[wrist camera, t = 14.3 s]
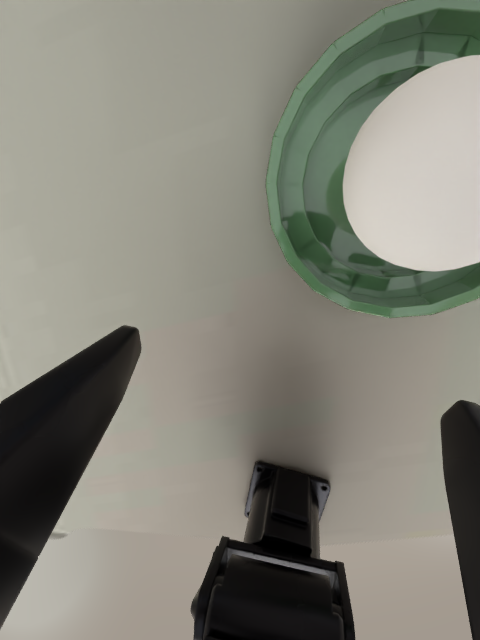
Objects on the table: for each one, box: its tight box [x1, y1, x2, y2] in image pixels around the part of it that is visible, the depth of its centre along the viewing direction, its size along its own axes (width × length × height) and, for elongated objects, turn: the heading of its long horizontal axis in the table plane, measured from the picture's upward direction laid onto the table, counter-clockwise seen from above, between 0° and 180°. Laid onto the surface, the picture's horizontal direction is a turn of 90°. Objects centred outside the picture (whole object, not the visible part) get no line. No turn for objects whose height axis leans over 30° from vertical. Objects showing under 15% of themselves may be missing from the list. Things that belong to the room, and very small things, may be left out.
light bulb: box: [343, 55, 480, 272], centre depth 13 cm, size 7×7×11 cm
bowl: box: [265, 0, 480, 318], centre depth 17 cm, size 14×14×4 cm
